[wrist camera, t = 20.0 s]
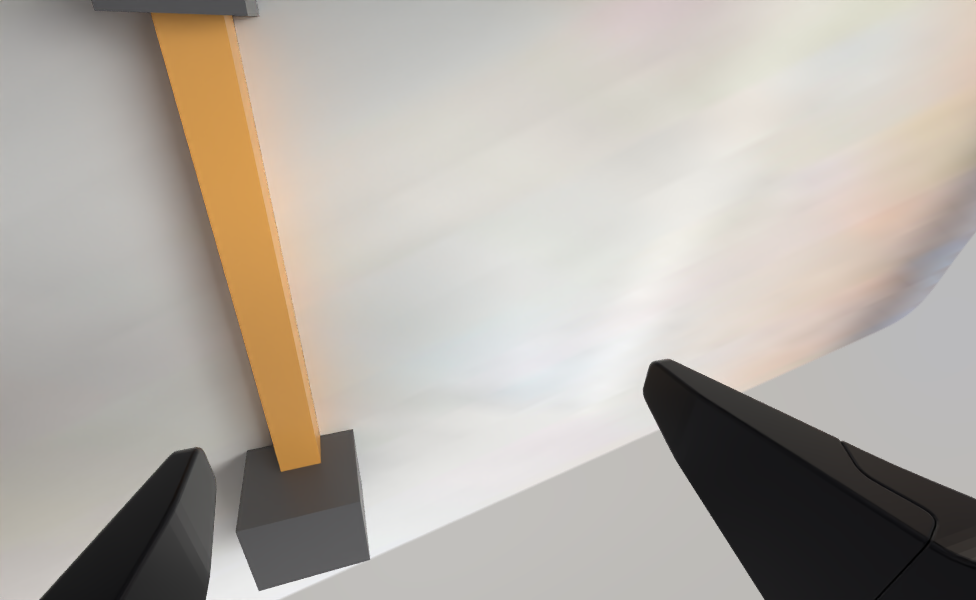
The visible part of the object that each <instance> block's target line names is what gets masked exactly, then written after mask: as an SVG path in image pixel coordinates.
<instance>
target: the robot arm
mask: <svg viewBox="0 0 976 600" xmlns="http://www.w3.org/2000/svg"><path fill="white" fill-rule="evenodd" d="M643 395H644V399H645V401H646V403H647V405H648V407H649V409H650V411H651V413H652V415H653V417H654V419H655V421H656V423H657V425H658V427H659V429H660V431H661V432H662V435H663V436H664V439H665V441H666V443H667V444H668V446H669V448H670V450H671V452H672V454H673V456H674V458H675V459H676V461H677V463H678V464H679V466H680V468H681V469H682V471H683V472H684V474H685V475H686V477H687V479H688V480H689V482H690V483H691V485H692V486H693V488H694V490H695V491H696V493H697V494H698V496H699V497H700V499H701V500H702V502H703V504H704V505H705V507H706V508H707V510H708V511H709V513H710V515H711V516H712V518H713V520H714V521H715V523H716V524H717V526H718V527H719V529H720V531H721V532H722V534H723V535H724V537H725V538H726V540H727V541H728V543H729V545H730V546H731V548H732V549H733V551H734V552H735V554H736V556H737V557H738V559H739V560H740V562H741V563H742V565H743V566H744V568H745V570H746V571H747V573H748V574H749V576H750V578H751V579H752V581H753V582H754V584H755V585H756V587H757V589H758V590H759V592H760V593H761V595H762V596H763V598H764V600H976V499H975V498H972V497H970V496H968V495H965V494H963V493H960V492H958V491H956V490H953V489H951V488H948V487H946V486H943V485H941V484H938V483H936V482H934V481H931V480H929V479H927V478H924V477H922V476H919V475H917V474H915V473H912V472H910V471H908V470H905V469H903V468H900V467H898V466H896V465H893V464H891V463H889V462H887V461H885V460H883V459H880V458H878V457H876V456H874V455H872V454H870V453H868V452H865V451H863V450H861V449H859V448H857V447H855V446H853V445H851V444H849V443H846V442H844V441H841V442H840V440H839V439H838V438H836V437H834V436H831V435H829V434H827V433H825V432H823V431H821V430H818V429H817V428H815V427H812V426H810V425H808V424H806V423H804V422H802V421H800V420H798V419H796V418H793V417H791V416H789V415H787V414H785V413H783V412H781V411H779V410H777V409H774V408H772V407H770V406H768V405H766V404H764V403H762V402H760V401H757V400H755V399H753V398H751V397H749V396H747V395H745V394H743V393H741V392H739V391H736V390H734V389H732V388H730V387H728V386H726V385H724V384H722V383H720V382H717V381H715V380H713V379H711V378H709V377H707V376H705V375H703V374H701V373H698V372H696V371H694V370H692V369H690V368H688V367H686V366H684V365H682V364H679V363H677V362H675V361H673V360H671V359H663V360H658V361H654V362H652V363H651V364H650V366H649V369H648V372H647V376H646V380H645V383H644V387H643ZM215 502H216V479H215V476H214V473H213V471H212V469H211V466H210V464H209V462H208V459H207V457H206V455H205V453H204V451H203V450H202V449H201V448H199V447H195V448H190V449H184V450H179V451H176V452H174V453H172V454H171V455H170V456H169V457H168V458H167V459H166V460H165V461H164V462H163V464H162V465H161V466H160V467H159V468H158V469H157V470H156V471H155V472H154V473H153V475H152V476H151V477H150V478H149V479H148V480H147V481H146V482H145V483H144V485H143V486H142V487H141V488H140V489H139V490H138V491H137V492H136V493H135V495H134V496H133V497H132V498H131V499H130V500H129V501H128V502H127V503H126V504H125V506H124V507H123V508H122V509H121V510H120V511H119V512H118V513H117V514H116V516H115V517H114V518H113V519H112V520H111V521H110V522H109V523H108V524H107V525H106V527H105V528H104V529H103V530H102V531H101V532H100V533H99V534H98V535H97V537H96V538H95V539H94V540H93V541H92V542H91V543H90V544H89V545H88V547H87V548H86V549H85V550H84V551H83V552H82V553H81V554H80V555H79V556H78V558H77V559H76V560H75V561H74V562H73V563H72V564H71V565H70V566H69V568H68V569H67V570H66V571H65V572H64V573H63V574H62V575H61V576H60V577H59V579H58V580H57V581H56V582H55V583H54V584H53V585H52V586H51V587H50V589H49V590H48V591H47V592H46V593H45V594H44V595H43V596H42V597H41V599H40V600H206V595H207V590H208V584H209V578H210V568H211V557H212V543H213V530H214V516H215Z"/></svg>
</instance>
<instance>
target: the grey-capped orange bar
mask: <svg viewBox="0 0 976 600" xmlns="http://www.w3.org/2000/svg"><path fill="white" fill-rule="evenodd" d="M91 1H92V4H93V7H94V10H95V11H123V12H150V13H151V16H152V20H153V23H154V27H155V30H156V34H157V37H158V41H159V44H160V48H161V51H162V55H163V58H164V62H165V66H166V69H167V73H168V76H169V80H170V83H171V87H172V90H173V94H174V97H175V101H176V104H177V108H178V111H179V115H180V118H181V122H182V125H183V129H184V132H185V136H186V139H187V143H188V146H189V150H190V154H191V157H192V161H193V164H194V168H195V171H196V175H197V178H198V182H199V185H200V189H201V192H202V196H203V199H204V203H205V206H206V210H207V213H208V217H209V220H210V224H211V227H212V231H213V234H214V238H215V241H216V245H217V249H218V252H219V256H220V259H221V263H222V266H223V270H224V273H225V277H226V280H227V284H228V287H229V291H230V294H231V298H232V301H233V305H234V308H235V312H236V315H237V319H238V322H239V326H240V329H241V333H242V337H243V340H244V344H245V347H246V351H247V354H248V358H249V361H250V365H251V368H252V372H253V375H254V379H255V382H256V386H257V389H258V393H259V396H260V400H261V403H262V407H263V410H264V414H265V417H266V421H267V425H268V428H269V432H270V435H271V439H272V442H273V446H269V447H264V448H259V449H254V450H249V451H247V456H246V463H245V470H244V477H243V484H242V491H241V498H240V505H239V512H238V520H237V527H236V534H237V537H238V539H239V542H240V544H241V547H242V549H243V552H244V554H245V557H246V559H247V562H248V564H249V567H250V570H251V572H252V575H253V577H254V580H255V582H256V585H257V587H258V590H259V591H261V590H265V589H268V588H272V587H275V586H279V585H282V584H286V583H289V582H293V581H296V580H300V579H304V578H307V577H311V576H314V575H318V574H321V573H325V572H328V571H332V570H335V569H339V568H343V567H346V566H350V565H353V564H357V563H360V562H364V561H367V560H370V555H369V546H368V537H367V528H366V519H365V510H364V501H363V493H362V484H361V478H360V472H359V465H358V459H357V453H356V446H355V440H354V434H353V429H352V430H347V431H343V432H338V433H333V434H328V435H323V436H320V433H319V428H318V423H317V419H316V414H315V409H314V404H313V399H312V395H311V390H310V385H309V380H308V376H307V371H306V366H305V361H304V356H303V352H302V347H301V342H300V337H299V333H298V328H297V323H296V318H295V313H294V309H293V304H292V299H291V294H290V290H289V285H288V280H287V275H286V270H285V266H284V261H283V256H282V251H281V247H280V242H279V237H278V232H277V227H276V223H275V218H274V213H273V208H272V204H271V199H270V194H269V189H268V184H267V180H266V175H265V170H264V165H263V161H262V156H261V151H260V146H259V141H258V137H257V132H256V127H255V122H254V118H253V113H252V108H251V103H250V98H249V94H248V89H247V84H246V79H245V75H244V70H243V65H242V60H241V56H240V51H239V46H238V41H237V36H236V32H235V27H234V22H233V17H232V15H233V16H259V12H258V7H257V1H256V0H91Z"/></svg>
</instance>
